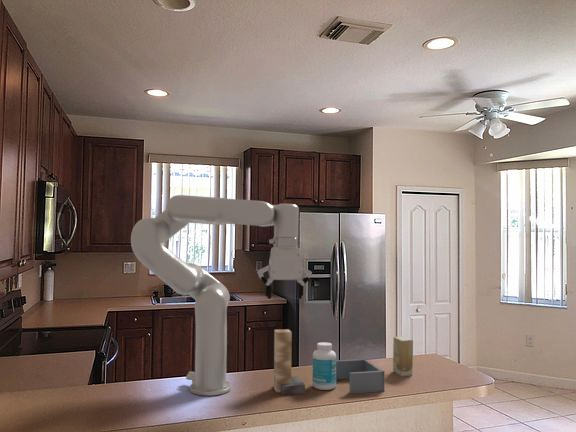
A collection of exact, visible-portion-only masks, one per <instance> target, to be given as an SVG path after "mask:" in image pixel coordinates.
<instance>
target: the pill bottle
mask: <svg viewBox="0 0 576 432" xmlns="http://www.w3.org/2000/svg"><path fill="white" fill-rule="evenodd" d="M316 348H317V349H316V350H314V351H313V353H312V386H313V388H314V389H316V390H320V391H331V390H333V389H335V388H336V386H337V380H336V360H337V354H336V352H335V351H334V350H332V349H333V344H332V343H331V342H318V343H317V344H316Z"/></svg>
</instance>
